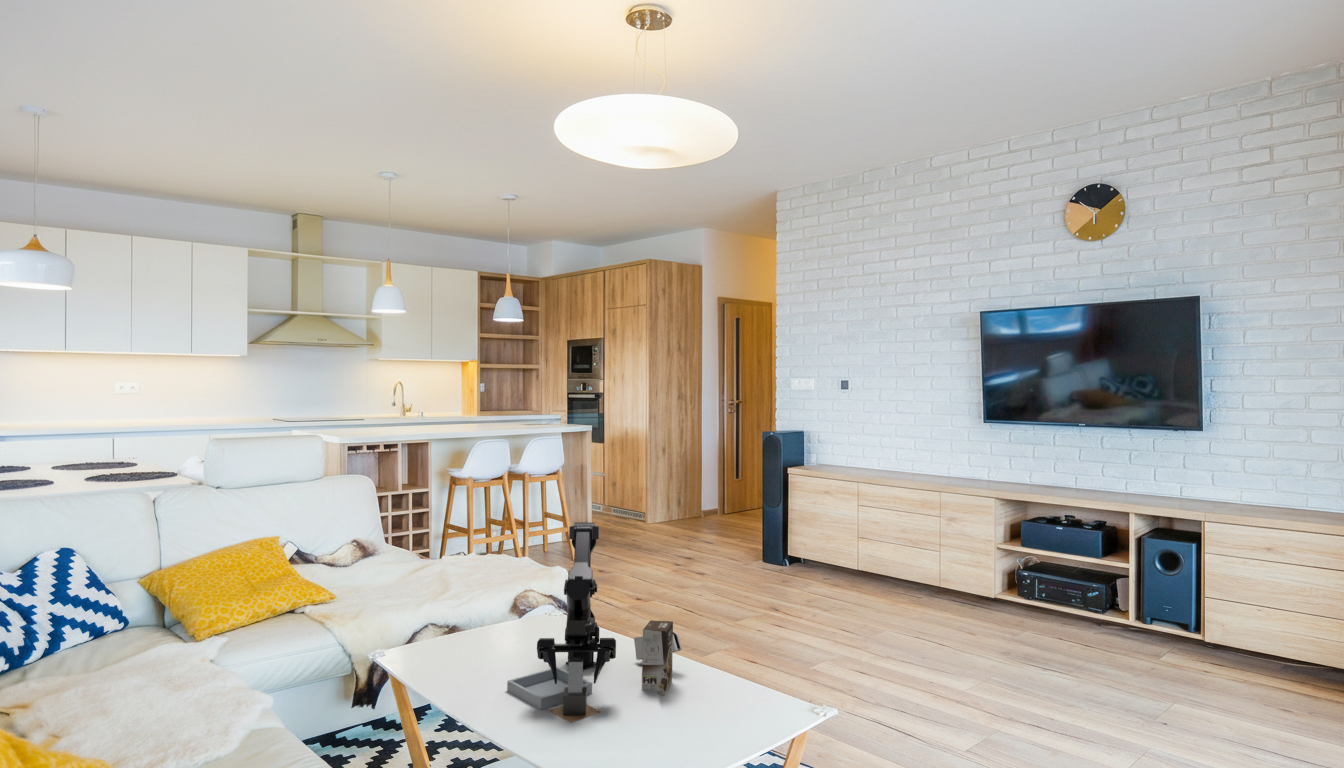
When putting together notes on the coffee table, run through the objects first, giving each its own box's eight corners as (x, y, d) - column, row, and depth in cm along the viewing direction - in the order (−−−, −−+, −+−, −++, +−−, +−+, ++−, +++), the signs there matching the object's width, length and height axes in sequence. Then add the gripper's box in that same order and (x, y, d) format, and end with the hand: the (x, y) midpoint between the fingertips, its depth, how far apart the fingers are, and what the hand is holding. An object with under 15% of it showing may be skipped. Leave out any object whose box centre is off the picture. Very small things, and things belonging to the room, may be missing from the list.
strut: (564, 706, 183) (565, 656, 183) (586, 706, 183) (587, 655, 183) (563, 715, 178) (563, 663, 178) (585, 715, 178) (586, 663, 178)
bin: (557, 680, 202) (557, 666, 202) (591, 697, 191) (592, 683, 191) (507, 694, 192) (507, 680, 192) (540, 713, 181) (541, 698, 181)
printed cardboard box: (636, 674, 213) (676, 665, 204) (632, 637, 217) (671, 626, 208) (646, 673, 216) (686, 664, 207) (642, 636, 220) (681, 626, 211)
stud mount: (579, 704, 187) (579, 687, 187) (601, 716, 180) (602, 698, 180) (547, 714, 181) (548, 697, 181) (570, 727, 174) (570, 708, 174)
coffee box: (665, 695, 193) (666, 631, 193) (640, 693, 194) (641, 629, 195) (673, 682, 202) (674, 620, 202) (649, 680, 203) (650, 619, 204)
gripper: (538, 604, 184) (532, 667, 173) (616, 604, 185) (615, 666, 174) (541, 627, 192) (535, 689, 181) (616, 627, 193) (615, 688, 182)
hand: (575, 683), depth 179 cm, fingers open, 9 cm apart
